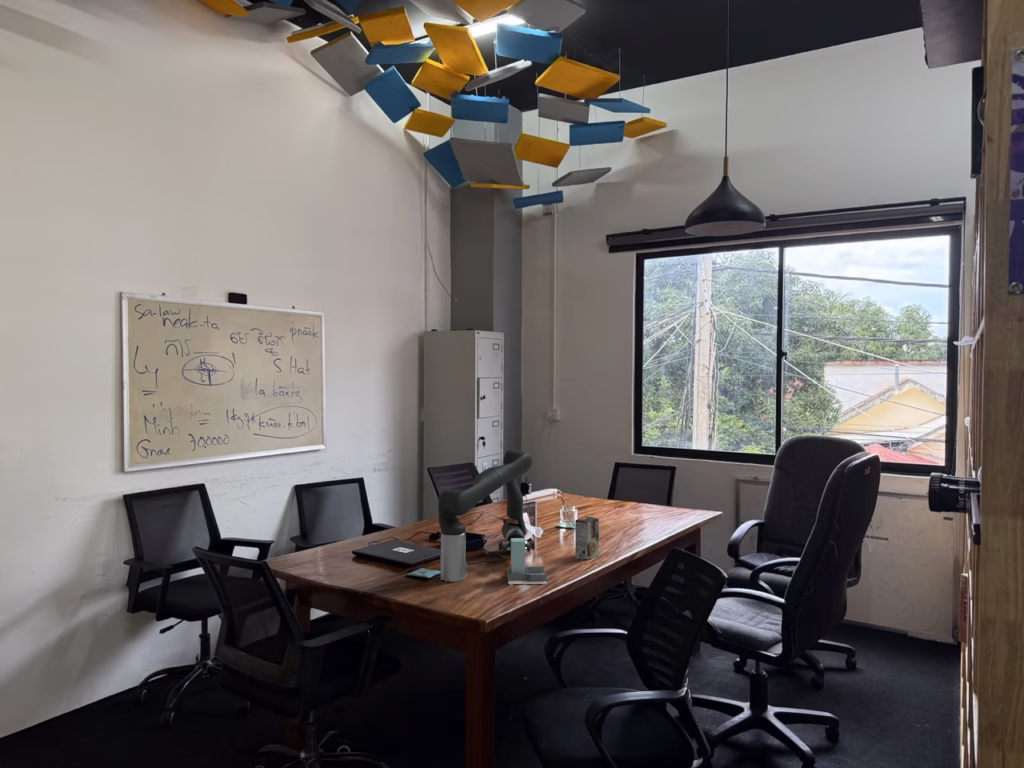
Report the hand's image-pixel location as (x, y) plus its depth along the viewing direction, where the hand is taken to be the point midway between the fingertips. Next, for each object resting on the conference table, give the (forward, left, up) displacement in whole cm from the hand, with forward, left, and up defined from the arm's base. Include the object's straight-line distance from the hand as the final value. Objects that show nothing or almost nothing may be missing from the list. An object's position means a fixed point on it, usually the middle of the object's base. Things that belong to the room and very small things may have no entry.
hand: (517, 549), depth 255 cm
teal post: (0, -6, -9) cm, 11 cm away
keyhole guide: (+3, -6, -9) cm, 12 cm away
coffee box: (+31, +23, -9) cm, 39 cm away
